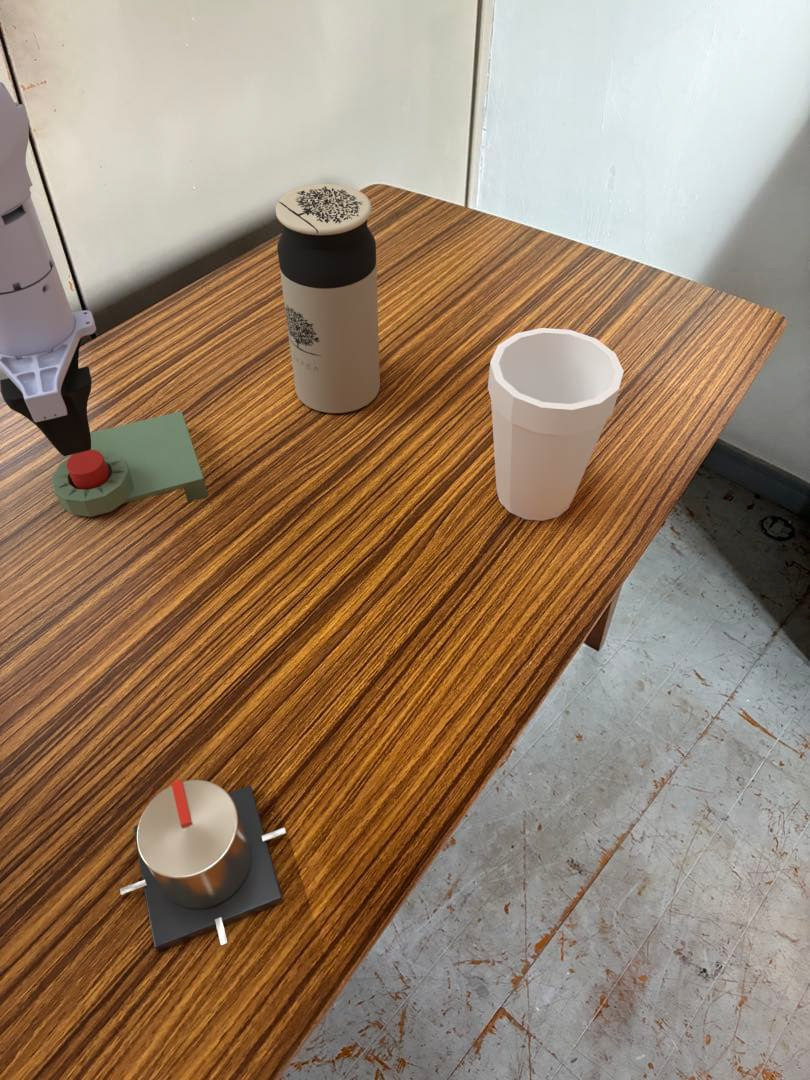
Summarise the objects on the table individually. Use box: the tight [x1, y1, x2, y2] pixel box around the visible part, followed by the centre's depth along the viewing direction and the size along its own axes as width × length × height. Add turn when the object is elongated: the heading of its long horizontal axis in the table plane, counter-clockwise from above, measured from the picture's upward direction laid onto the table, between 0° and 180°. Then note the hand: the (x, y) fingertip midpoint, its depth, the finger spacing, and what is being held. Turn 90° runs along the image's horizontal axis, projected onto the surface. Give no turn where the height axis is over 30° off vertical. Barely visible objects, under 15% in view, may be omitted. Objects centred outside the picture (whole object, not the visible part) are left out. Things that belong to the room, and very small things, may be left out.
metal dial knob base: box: [119, 785, 287, 952], centre depth 47 cm, size 9×9×3 cm
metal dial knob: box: [136, 779, 251, 909], centre depth 44 cm, size 5×5×5 cm
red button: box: [66, 449, 109, 490], centre depth 64 cm, size 3×3×2 cm
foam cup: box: [487, 327, 625, 522], centre depth 63 cm, size 10×9×13 cm
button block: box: [51, 410, 209, 518], centre depth 67 cm, size 11×10×4 cm
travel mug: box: [275, 183, 381, 414], centre depth 70 cm, size 8×8×18 cm
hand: (73, 434), depth 61 cm, fingers open, 3 cm apart
